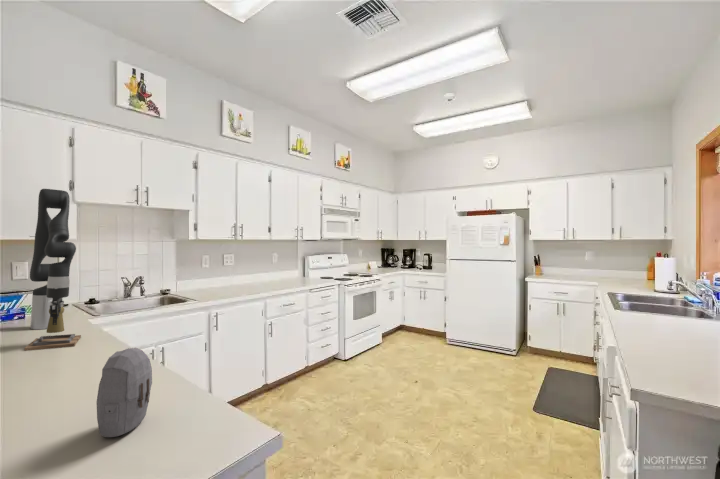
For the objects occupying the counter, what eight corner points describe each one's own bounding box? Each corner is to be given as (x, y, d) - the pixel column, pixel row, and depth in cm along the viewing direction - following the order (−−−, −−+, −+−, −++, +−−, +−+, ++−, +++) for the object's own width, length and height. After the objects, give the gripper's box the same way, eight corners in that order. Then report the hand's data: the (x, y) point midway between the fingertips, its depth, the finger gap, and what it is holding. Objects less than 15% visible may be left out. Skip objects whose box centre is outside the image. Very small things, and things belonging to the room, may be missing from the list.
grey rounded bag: (127, 414, 94) (131, 340, 94) (159, 414, 94) (163, 340, 95) (88, 445, 79) (93, 357, 79) (126, 445, 79) (131, 358, 80)
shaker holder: (35, 341, 156) (36, 335, 156) (80, 337, 164) (81, 332, 164) (24, 350, 142) (25, 344, 143) (74, 346, 151) (74, 340, 151)
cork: (58, 332, 151) (59, 307, 151) (42, 333, 150) (44, 307, 150) (67, 329, 157) (68, 305, 157) (52, 329, 156) (53, 305, 156)
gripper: (51, 284, 158) (48, 322, 158) (42, 288, 146) (40, 329, 146) (72, 284, 162) (69, 321, 162) (65, 288, 150) (63, 328, 150)
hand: (55, 325), depth 154 cm, fingers closed on cork, 2 cm apart
